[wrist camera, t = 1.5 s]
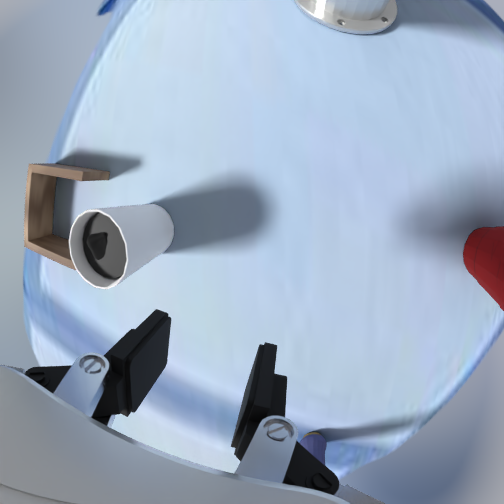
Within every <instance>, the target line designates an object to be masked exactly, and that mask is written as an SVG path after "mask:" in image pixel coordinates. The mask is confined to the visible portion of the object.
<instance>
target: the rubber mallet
mask: <svg viewBox="0 0 504 504" xmlns="http://www.w3.org/2000/svg"><path fill="white" fill-rule="evenodd" d="M300 444H301V445H302V446H303V447H304V448H305V449H306V450H308V451H309V452H310V453H311V454H312V455H313V456H314V457H315V458H317V459H318V460H319V461H320V462H321V463H322V464H324V465H325V450H326V440H325V438H324V437H323V436H322V435H321V434H320V433H317V432H312V433H308V434H306V435H304V437H303V439H302V440H301V442H300Z"/></svg>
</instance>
